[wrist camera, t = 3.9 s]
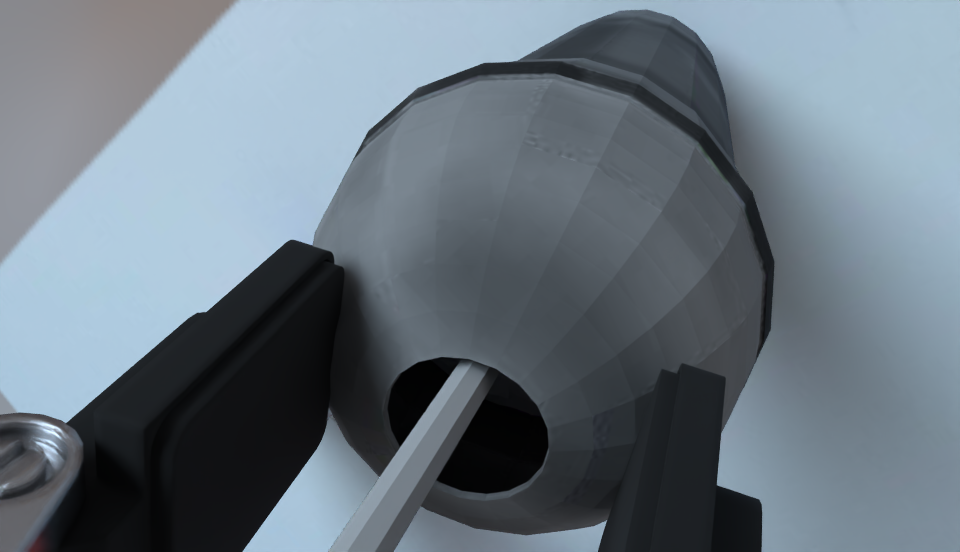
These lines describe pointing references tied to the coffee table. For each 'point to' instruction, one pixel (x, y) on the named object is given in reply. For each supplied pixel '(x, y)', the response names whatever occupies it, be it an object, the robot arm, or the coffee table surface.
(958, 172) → the coffee table surface
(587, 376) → the beverage cup
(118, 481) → the robot arm
